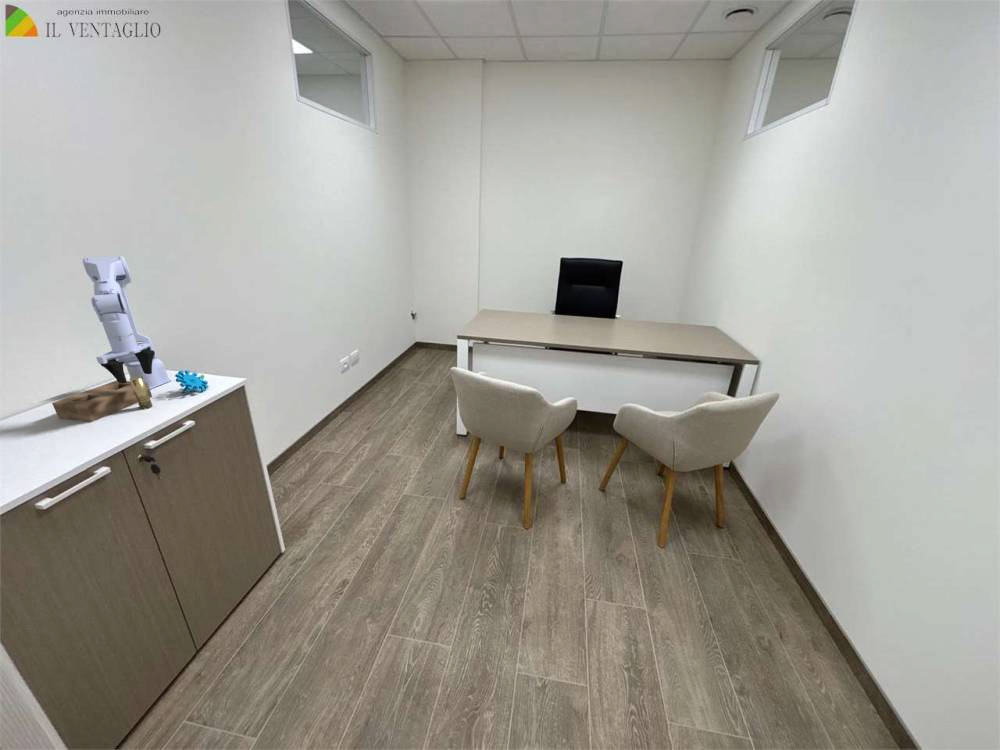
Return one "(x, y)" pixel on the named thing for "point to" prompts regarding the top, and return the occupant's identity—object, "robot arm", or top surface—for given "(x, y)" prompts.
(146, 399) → the peg
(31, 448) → the top surface
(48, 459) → the top surface
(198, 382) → the gear
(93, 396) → the hole block
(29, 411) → the top surface
